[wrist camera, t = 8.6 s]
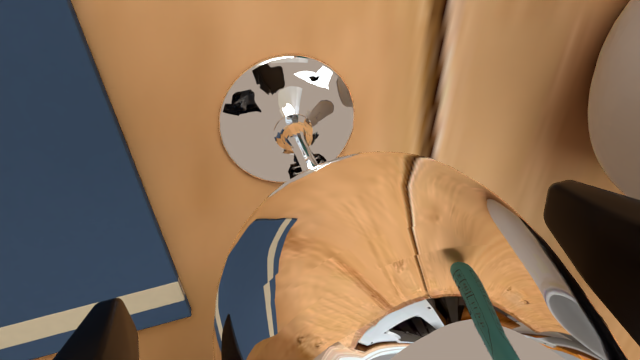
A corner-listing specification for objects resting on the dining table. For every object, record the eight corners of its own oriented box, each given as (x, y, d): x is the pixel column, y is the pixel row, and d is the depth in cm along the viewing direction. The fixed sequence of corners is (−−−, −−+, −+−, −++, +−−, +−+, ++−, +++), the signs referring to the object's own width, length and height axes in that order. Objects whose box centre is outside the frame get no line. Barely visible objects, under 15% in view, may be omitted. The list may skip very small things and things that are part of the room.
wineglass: (211, 11, 13) (324, 425, 3) (396, 52, 15) (842, 378, 5) (185, 189, 15) (195, 727, 5) (344, 203, 17) (565, 617, 7)
